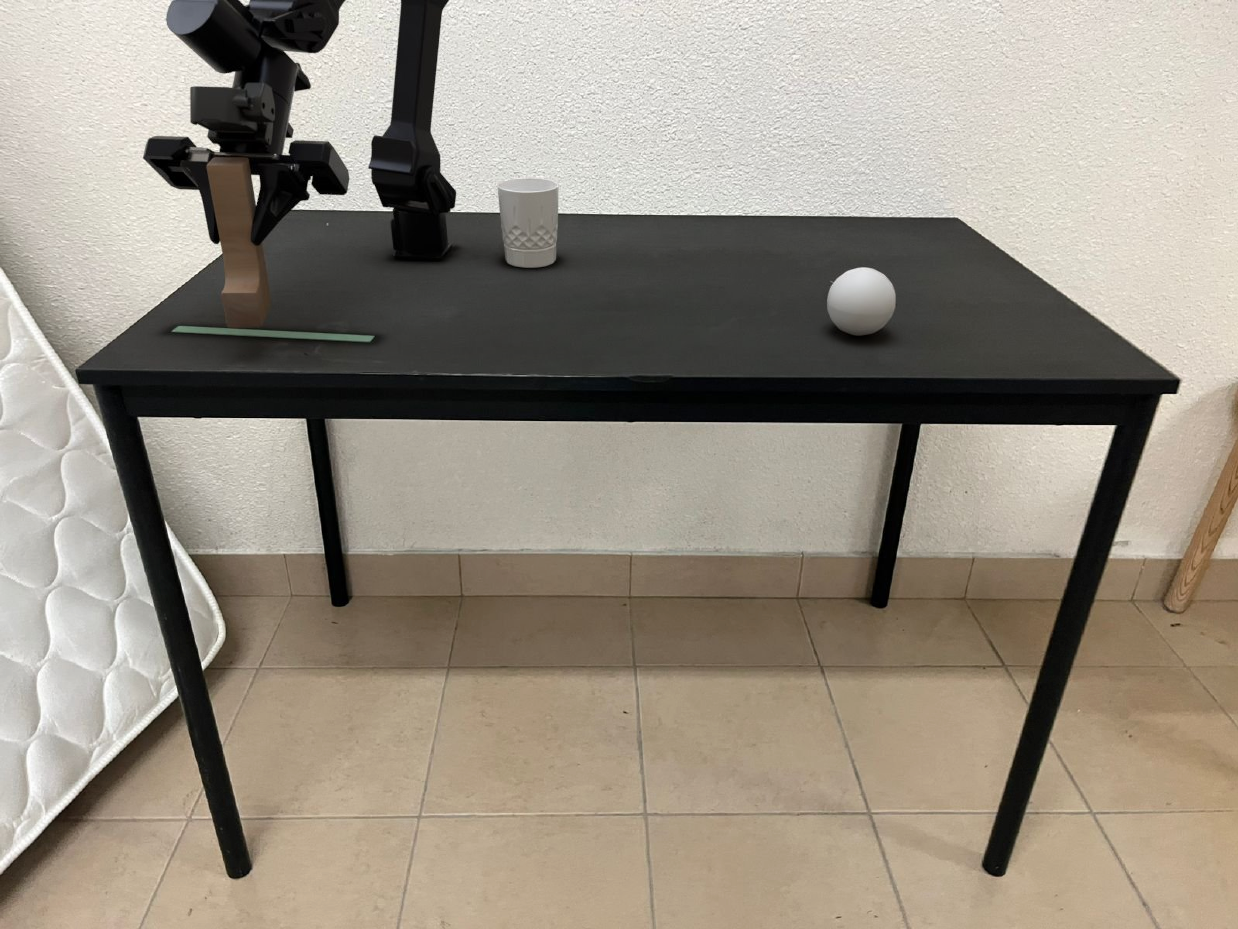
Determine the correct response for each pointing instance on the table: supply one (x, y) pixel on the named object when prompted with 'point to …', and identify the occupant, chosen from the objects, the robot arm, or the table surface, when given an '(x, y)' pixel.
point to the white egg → (861, 301)
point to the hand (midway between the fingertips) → (234, 242)
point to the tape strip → (273, 334)
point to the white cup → (529, 220)
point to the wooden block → (239, 243)
